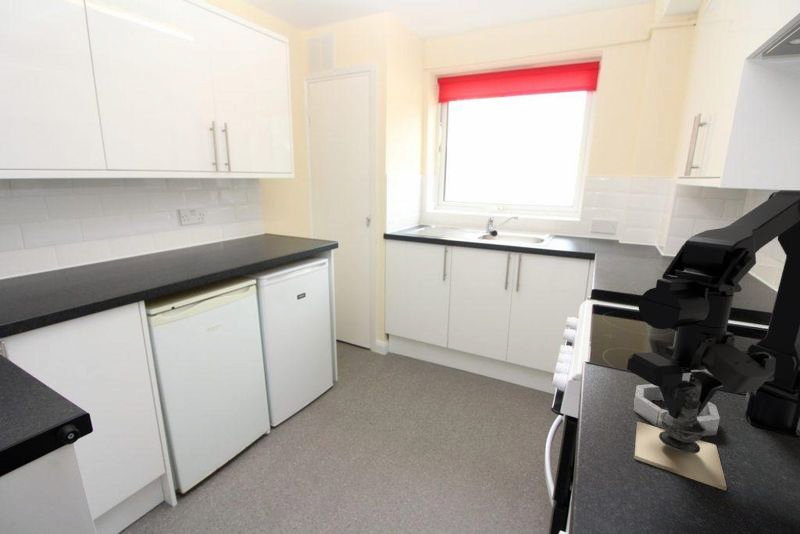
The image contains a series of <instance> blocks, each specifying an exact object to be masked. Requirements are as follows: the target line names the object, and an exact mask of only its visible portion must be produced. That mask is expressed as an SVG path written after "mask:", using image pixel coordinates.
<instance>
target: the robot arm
mask: <svg viewBox="0 0 800 534" xmlns="http://www.w3.org/2000/svg"><path fill="white" fill-rule="evenodd" d="M776 238H777V242H778V243H779V245H780V246H781V249H782V251H783V252H784V254H785V260H784V265H783V268H782V272H781V277H780V281H779V283H778V289H777V291H776V292H777V293H776V297H775V300H774V303H773V304H774V305H773V308H772V312H771V316H770V320H769V323H768V326H767V330H766V331H767V332H766V334H765V337H763V338H762V339H760V340H758V342H756V343H755V344H754V343H752V344H751V345H749V347H748V348H747V350H740V349H739V348H737V347H735V341H736V338H735V336H734V335H735V333H733V332H729V331H727V330H728V323H729V319H730V315H731V310H732V305H733V300H734V296H735V293H740V292H742V287H741V285H740V284H739V283H740V281H741V280H743V278H744V277H745V276H746V275H747V274H748V273H749V272H750V271H751V269H753V267H754V266H755V265H756V264H757V259H756V258H757V256H756V254H757V252H759V250H761V249H762V248H763V247H765V246H766V245H767V244H769V243H771V242H772V241H773V240H775V239H776ZM661 277H662V278H658V279H657V280H656V285H655V287H652V288H649V289H648V290H645V292H644V293H643V294H642V295H641V297H640V298H639V299H638V312H639V314H640V316H641V318H642V320H643V321H644V323H646V324H647V325H648V326H650V327H652V328H653V329H657V330H667V329H670V330H673V331H675V334H674V340H673V345H672V346H670V345H669V346H666V347H665V350H664V353H665V354H667V355H669V356H671V358H672V359H667V358H666V357H663V356H662V355H660V354H657V353H656V352H654V351H651V352H648V351H647V352H637V353H635V352H634V353H632V354H631V355H628V358H627V365H626V370H627V371H629V372H631V373H632V374H635V376H638V377H639V378H641V379H643V380H644V381H646V382H648V383H649V384H653V385H654V386H658V387H659V388H660V390H661V393H662V396H663V398H664V401H665V402H664V401H663V402H664V404H665V406H666V408H667V411H668V412H669V415H670V416H672V417H673V418H675V419H677V418H678V416H679V414H680V412H681V409H682V405H683V402H684V398H685V395H686V392H687V391H688V390H691V389H693V388H696V387H697V386H696V385H694V384H692V383H690V382H689V379H690V375H691V374H692V373H693V374H694V375H695V376H693V377H694V378H695V379H697V380H698V381H699V382H700V383H701V384H702V389H701V394H700V399H699V401H700V402H701V403H702V406H700V407H698V412H697V417H699V414H700V413H701V411H702V410H703V409H704V407H705V406H706V405H707V403H708V402H711V400H712V398H713V397H714V395H715V394H716V393H717V391H719V389H721V388H725V389H726V390H727V391H729V392H731V393H734V394H741V393H743V392H746V395H745V399H744V403H743V406H742V410H743V413H744V415H745V416H746V417H747V420H748V423H749V424H750V425H753V426H756V427H759V428H763V429H766V430H769V431H770V430H771V431H772V432H773V431H774V432H777V433H781V434H783V435H784V434H785V435H789V436H792V437H796V438H800V431H799V430H798V427H799V423H800V190H798V189H797V190H796V189H795V190H794V189H793V190H791V189H790V190H789V189H788V190H787V189H785V190H783V189H782V190H778V191H774V192H772V193H771V194H770V195H769V196H768V198H767V199H766V200H765V201H764V202H763V203H761V204H759V205H757V207H754V208H753V209H751V210H750V211H749V212H747V213H746V214H744V215H743V216H741V217H739V218H738V219H736V220H734V221H733V222H732V223H730V224H729V225H727V226H724V227H720V228H714V229H713V228H712V229H707V230H705V231H702V232H699V233H697V234H694V235H692V236H690V237H689V238H688V239H687V240H686V241H685V242H684V243H683V244H682V246H681V247H680V249H678V251H677V253H676V254H675V256H674V258H673V259H672V261H671V262H670V264H668V266H667V268H666V269H665V271H664V273H663V274H662V276H661Z"/></svg>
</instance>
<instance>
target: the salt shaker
mask: <svg viewBox="0 0 800 534" xmlns="http://www.w3.org/2000/svg"><path fill="white" fill-rule="evenodd" d="M693 376H695V375H694V374H693V373H692V374H691V375H690V379H689V382H690V383H692V384H694V385H696V386H697V387H696V388H693V389H691V390H688V391H687V392H686V395H685V398H684V402H683V405H682V409H681V412H680V414H679V416H678V418H677V419H675V418H673V417H672V416H670V415H669V412H663V413H662V414H661V415H660V418H661V420H662V425H663V428H664V430H665V431H664V432H661V433H660V434H659V438H660V440H661V441H662V442H663V443H664V444H665V445H667V446H669V447H670V448H672V449H674V450H677V451H680V452H683V453H689V454H695V453H698V452H699V451H700V447H699V445H698V444H697V443H696V442H695V441H698V440H700V439H701V438H703V437H704V436H703V434H704V433H706V430H707V429H706V427H705V426H704V425H703V424H702V423H701V422H700V421H698V420H697V417H698V416H697V412H698V407H700V406H702V403H701V402H700V401H699V399H700V394H701V389H702V384H701V383H700V382H699V381H698V380H697V379H695V378H694V377H693Z"/></svg>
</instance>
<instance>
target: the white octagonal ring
mask: <svg viewBox="0 0 800 534" xmlns="http://www.w3.org/2000/svg"><path fill="white" fill-rule="evenodd" d="M635 388H636V389H635V395H634V402H633V411H634V412H635V413H636V414H637V415H639V416H640V417H642V418H644V419H645V420H646V421H647V422H648V423H650V424H651V425H652V426H654V427H658V428H661V429H664V428H663V425H662V420H661V418H660V415H661V414H662V413H663V412H668V409H667V410H666V409H663V408H661V407H660V406H658V405H656V404H655V403H653V401H652V400H655V401H660V400H662V401H661V402H664V398H663V396H662V393H661V390H660V388H659V387H658V386H654V385H653V384H651V383H649V384H648V383H647V384H646V383H645V384H638V385H636V387H635ZM697 420H698V421H700V422H701V423H702V424H703V425H704V426H705V427H706V429H707V430H706V433H704V434H703V436H702V437H706V436H709V437H710V436H716V435H717V433H718V428H719V425H720V420H721V417H720V415H719V411H718V408H717V406H716V404H714V403H712V402H711V401H709V402H708V403H707V405H706V406H705V407H704V409H703V410H702V411H701V413H700V414H699V416H697Z"/></svg>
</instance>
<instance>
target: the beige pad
mask: <svg viewBox="0 0 800 534" xmlns="http://www.w3.org/2000/svg"><path fill="white" fill-rule="evenodd" d="M635 431H636V432H635V444H634V457H633V458H634V460H637V461H640V462H642V463H645V464H649V465H652V466H654V467H656V468H660V469H663V470H664V471H667V472H671V473H675V474H677V475H680V476H683V477H685V478H688V479H691V480H694V481H696V482H699V483H702V484H705V485H707V486H708V485H709V486H711V487H714V488H716V489H720V490H721V491H722V490H723V491H727V487H728V485H727V483H726V478H725V473H724V470H723V467H722V463H721V460H720V456H719V451H718V448H717V444H714V443H711V442H707V441H703V440H700V439H699V440H698V441H695V442H696V443H697V444H698V445H699V447H700V451H699V452H698V453H695V454H689V453H683V452H680V451H677V450H674V449H672V448H670V447H669V446H667V445H665V444H664V443H663V442H662V441H661V440H660V438H659V434H660V433H661V432H664V431H665V430H664V429H662V428H659V427H657V426H655V425H652V424H648V423H644V422H641V421H637V422H636V430H635Z"/></svg>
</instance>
